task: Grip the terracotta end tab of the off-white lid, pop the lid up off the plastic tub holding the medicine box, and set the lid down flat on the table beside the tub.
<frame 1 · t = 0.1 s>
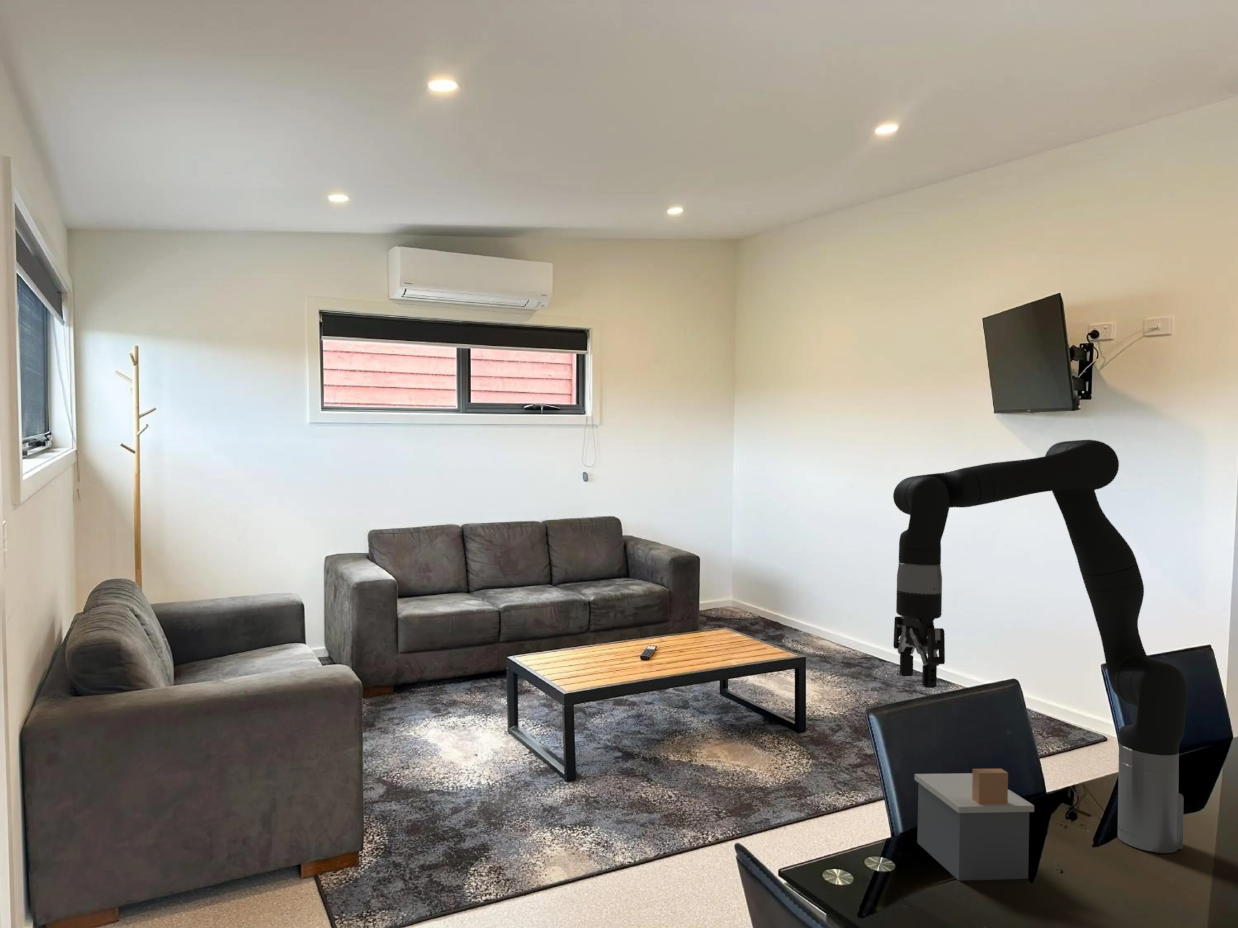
hand: (917, 681, 144), 29 cm above the table, tool pointing down, fingers open, 8 cm apart
tub: (970, 859, 140), on the table
lid: (971, 794, 140), point 11 cm above the table, touching tub
medicine box: (970, 861, 140), resting in tub
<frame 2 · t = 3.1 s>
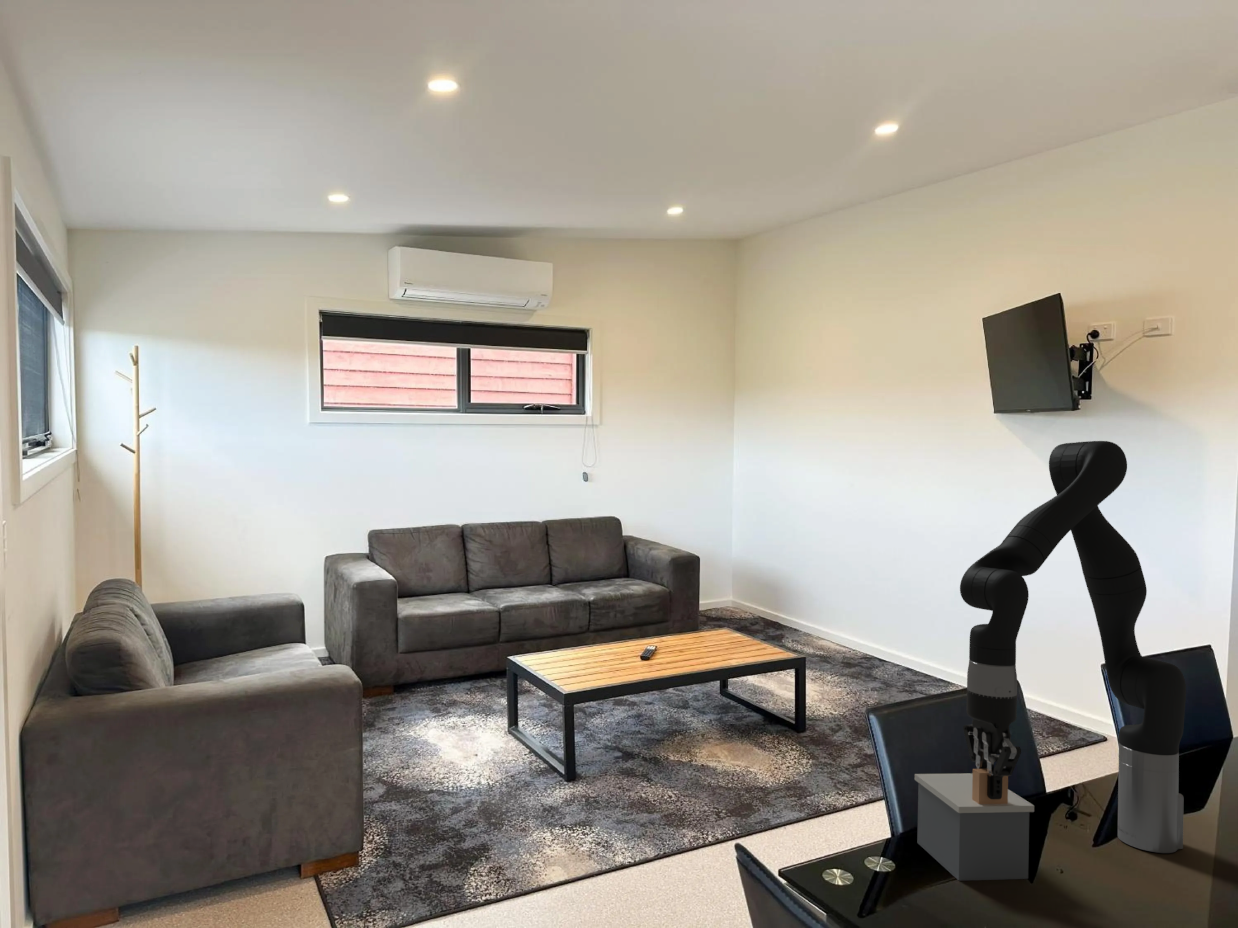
hand: (989, 794, 135), 13 cm above the table, tool pointing down, fingers closed on lid
lid: (971, 794, 140), point 11 cm above the table, touching gripper
everything else where it was.
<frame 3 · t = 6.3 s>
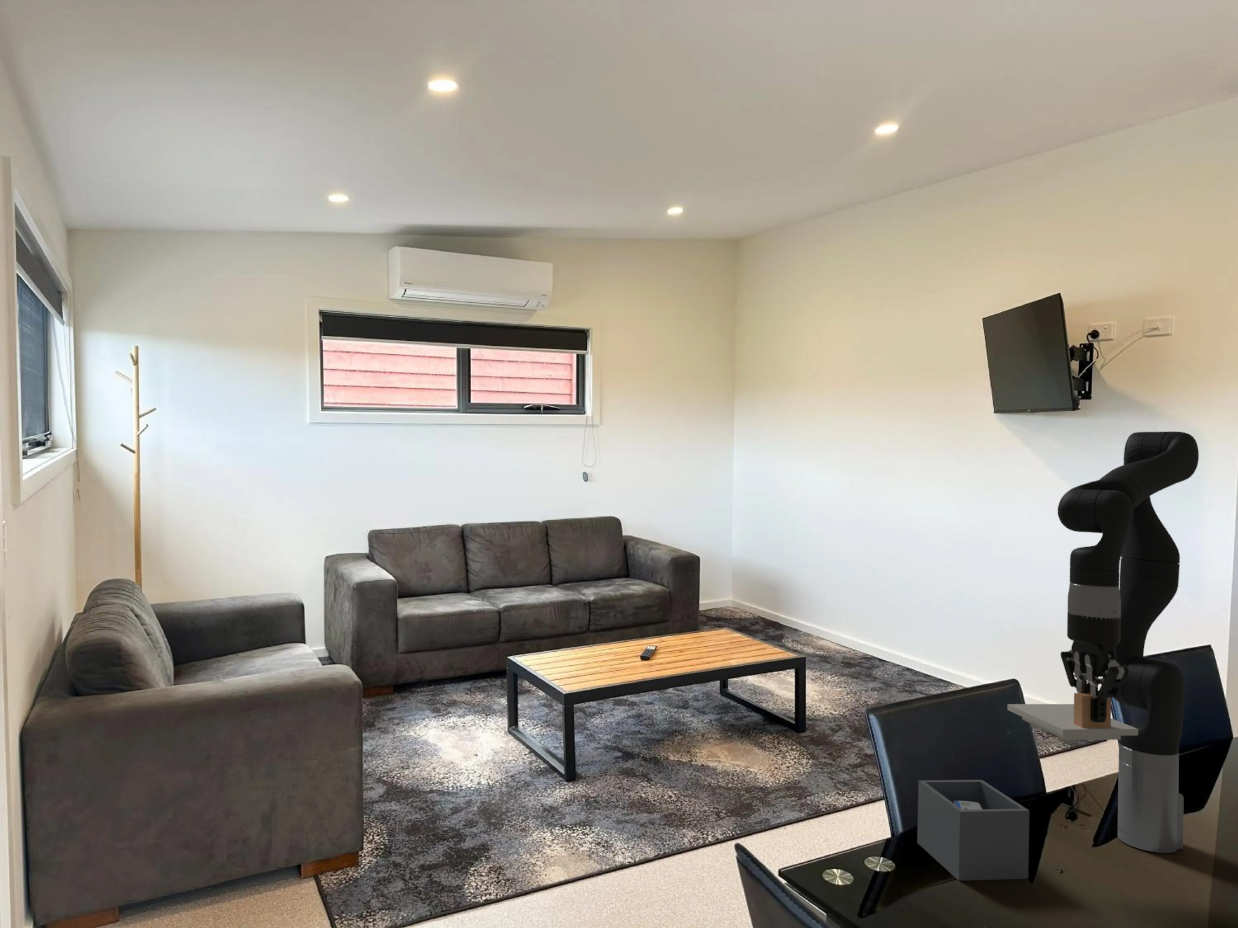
hand: (1092, 718, 133), 27 cm above the table, tool pointing down, fingers closed on lid
lid: (1069, 721, 138), point 24 cm above the table, touching gripper
everything else where it was.
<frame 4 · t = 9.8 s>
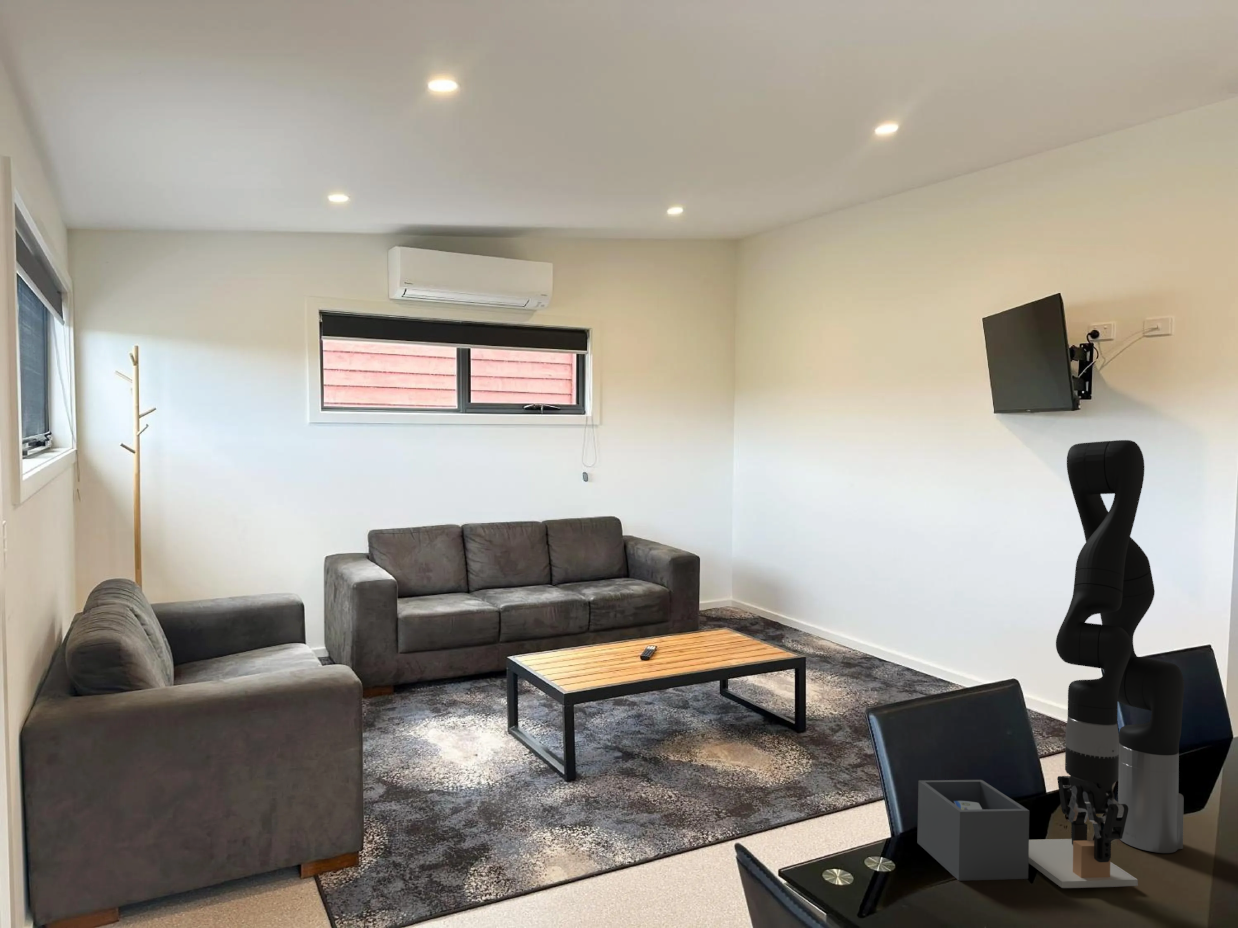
hand: (1090, 852, 132), 5 cm above the table, tool pointing down, fingers open, 4 cm apart
lid: (1068, 864, 137), point 1 cm above the table
everything else where it was.
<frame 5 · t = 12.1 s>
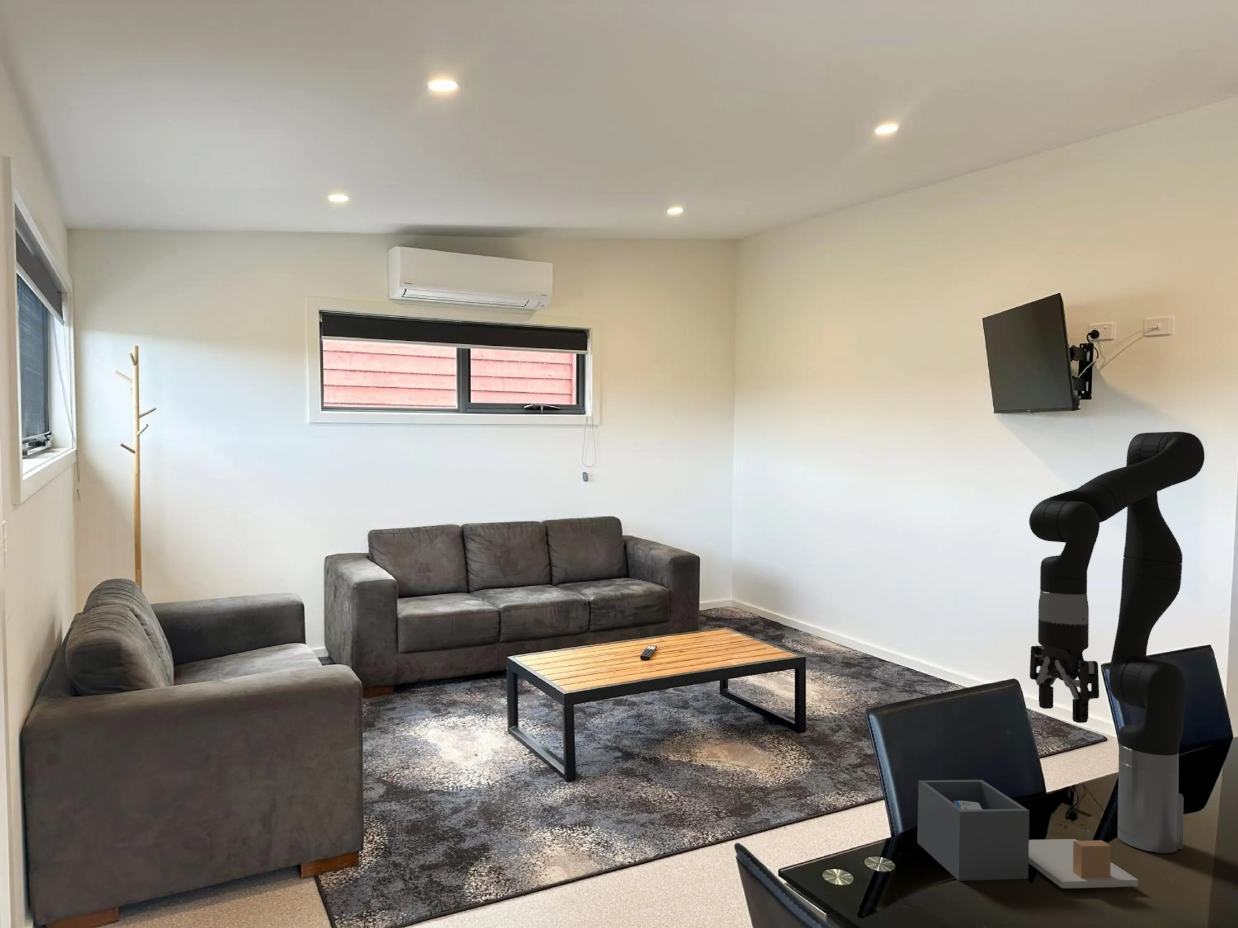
hand: (1062, 714, 139), 26 cm above the table, tool pointing down, fingers open, 8 cm apart
nothing on the table moved.
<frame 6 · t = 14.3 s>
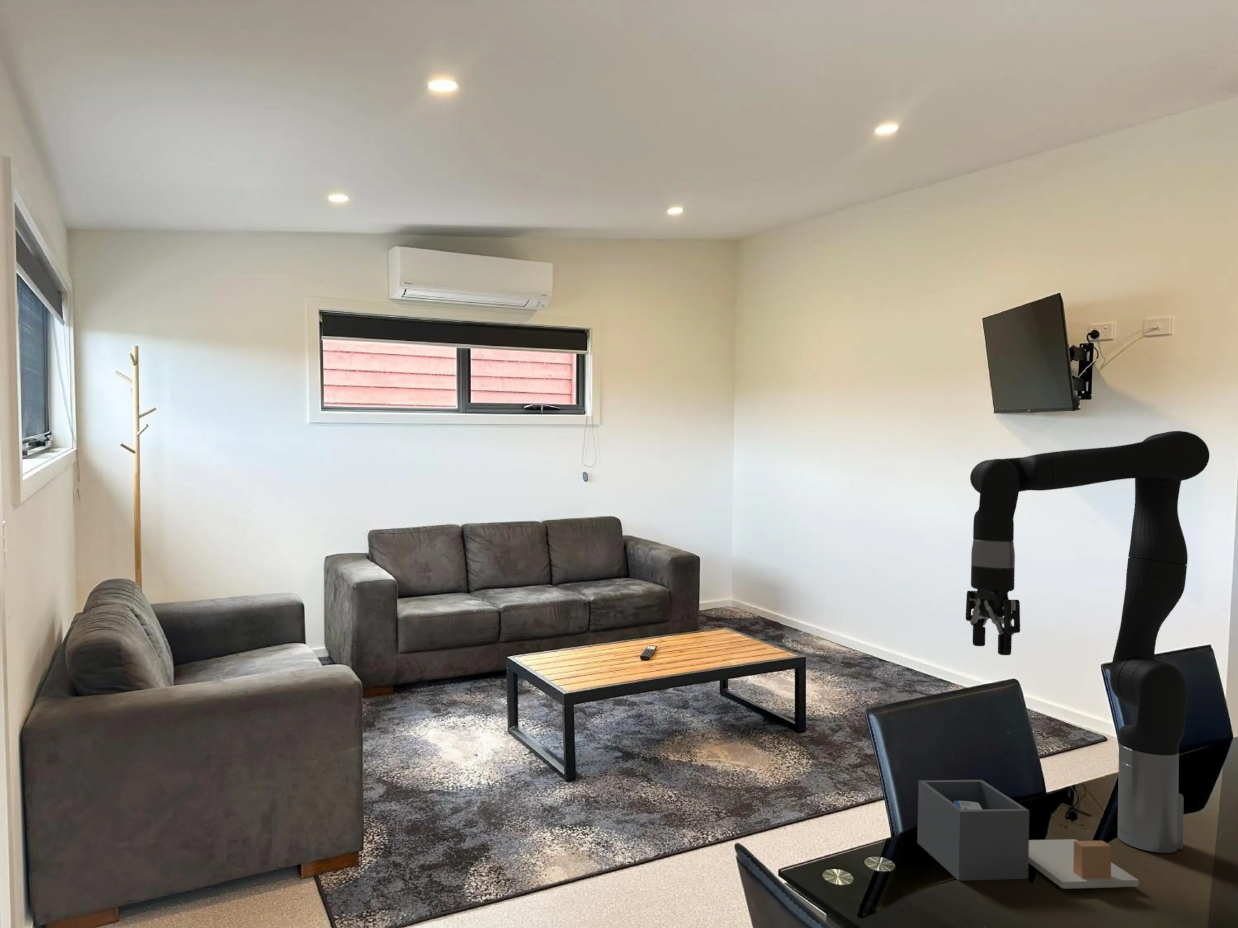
hand: (991, 650, 155), 33 cm above the table, tool pointing down, fingers open, 8 cm apart
nothing on the table moved.
at the end: lid inside the target area (0.7 cm from its centre), point 0.9 cm above the table; lid tilted 0°; the gripper is holding nothing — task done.
